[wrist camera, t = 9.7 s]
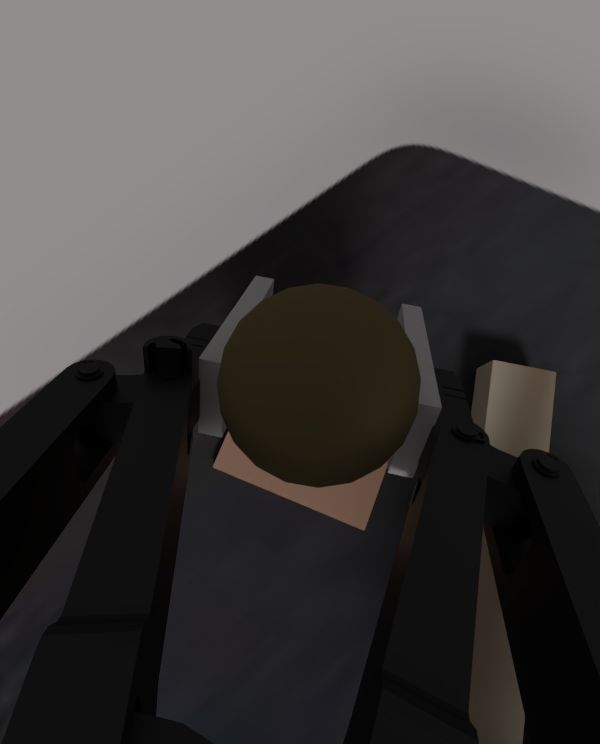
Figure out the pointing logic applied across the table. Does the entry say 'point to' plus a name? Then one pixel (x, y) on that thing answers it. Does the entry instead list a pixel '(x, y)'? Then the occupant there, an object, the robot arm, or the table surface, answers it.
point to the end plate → (308, 487)
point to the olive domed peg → (319, 385)
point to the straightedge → (491, 647)
